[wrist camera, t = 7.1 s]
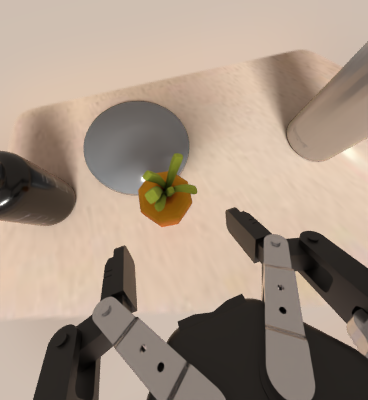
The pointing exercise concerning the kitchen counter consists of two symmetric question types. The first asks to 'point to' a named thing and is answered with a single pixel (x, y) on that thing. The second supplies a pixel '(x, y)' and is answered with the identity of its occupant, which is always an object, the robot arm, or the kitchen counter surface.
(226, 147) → the kitchen counter surface
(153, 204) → the carrot
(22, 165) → the supplement bottle
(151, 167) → the slate plate
